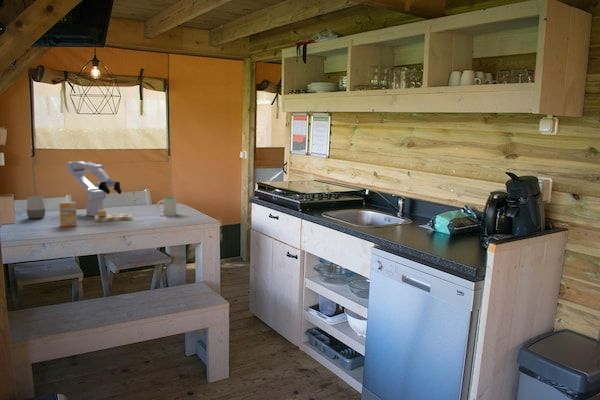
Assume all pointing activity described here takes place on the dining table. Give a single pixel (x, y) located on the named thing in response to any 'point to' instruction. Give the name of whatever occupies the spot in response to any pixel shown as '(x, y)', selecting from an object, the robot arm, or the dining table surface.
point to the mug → (168, 206)
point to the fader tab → (101, 212)
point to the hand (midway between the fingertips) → (114, 192)
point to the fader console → (113, 217)
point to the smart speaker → (35, 207)
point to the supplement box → (68, 214)
